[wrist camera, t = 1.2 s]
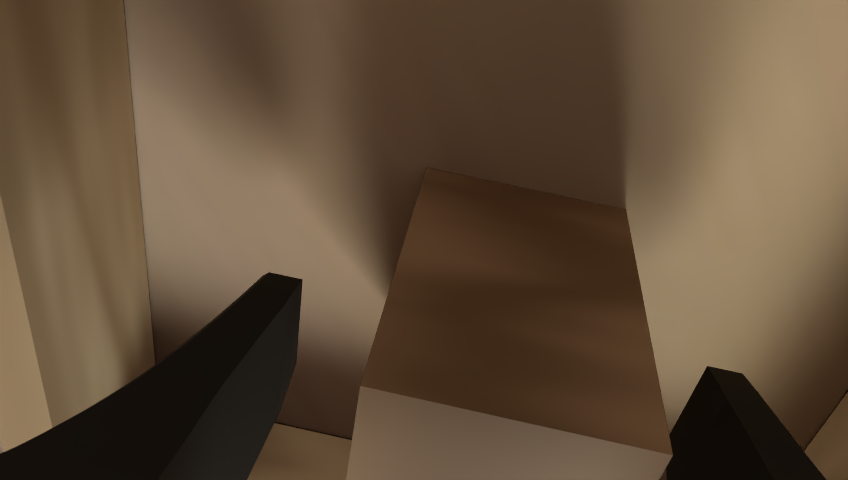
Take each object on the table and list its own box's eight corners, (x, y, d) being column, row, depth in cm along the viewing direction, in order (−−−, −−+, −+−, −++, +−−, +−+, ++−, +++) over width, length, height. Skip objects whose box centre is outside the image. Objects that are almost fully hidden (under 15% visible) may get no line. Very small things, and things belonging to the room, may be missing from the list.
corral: (1156, 90, 11) (1418, 222, 8) (772, 563, 19) (820, 730, 15) (43, -135, 12) (-158, -102, 8) (119, 416, 19) (31, 548, 16)
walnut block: (625, 209, 14) (673, 455, 9) (569, 355, 16) (580, 616, 11) (427, 167, 14) (359, 385, 9) (398, 318, 16) (334, 559, 11)
